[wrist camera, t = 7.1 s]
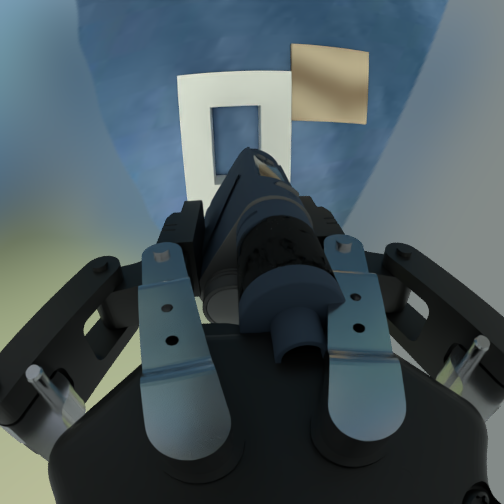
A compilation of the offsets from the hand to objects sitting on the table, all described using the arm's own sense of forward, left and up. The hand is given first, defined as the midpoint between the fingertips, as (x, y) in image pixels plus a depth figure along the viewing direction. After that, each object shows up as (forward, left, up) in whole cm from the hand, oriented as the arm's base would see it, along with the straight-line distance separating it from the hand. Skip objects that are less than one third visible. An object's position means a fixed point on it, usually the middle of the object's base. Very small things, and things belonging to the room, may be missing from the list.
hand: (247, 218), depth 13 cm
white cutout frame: (0, 0, -19) cm, 19 cm away
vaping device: (0, 0, -4) cm, 4 cm away
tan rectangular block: (-6, +9, -19) cm, 22 cm away
